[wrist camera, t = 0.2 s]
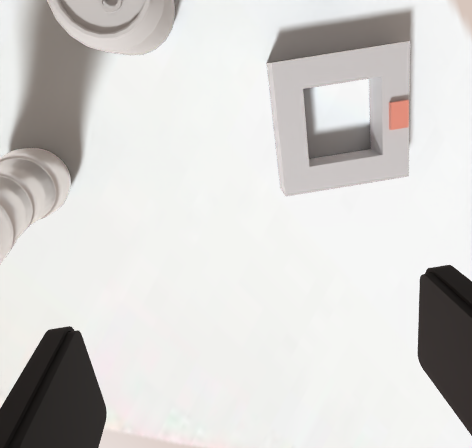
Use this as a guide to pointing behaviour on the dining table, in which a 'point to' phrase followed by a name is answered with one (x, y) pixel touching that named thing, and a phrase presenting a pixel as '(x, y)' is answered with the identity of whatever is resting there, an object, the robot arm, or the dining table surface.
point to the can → (116, 23)
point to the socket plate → (381, 117)
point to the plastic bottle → (29, 191)
